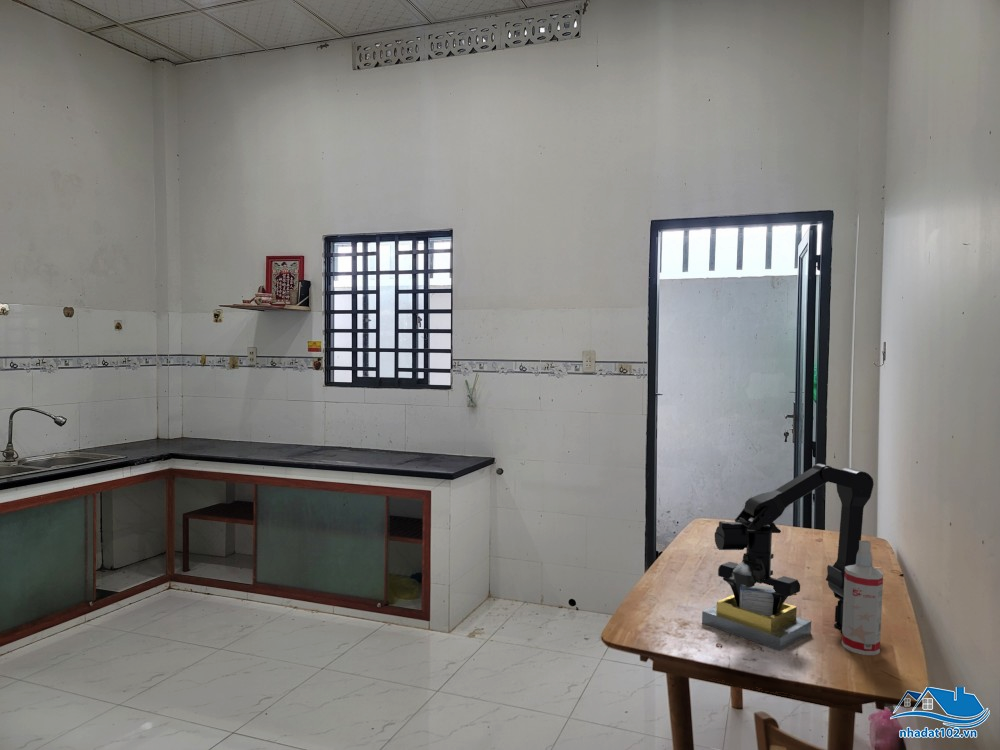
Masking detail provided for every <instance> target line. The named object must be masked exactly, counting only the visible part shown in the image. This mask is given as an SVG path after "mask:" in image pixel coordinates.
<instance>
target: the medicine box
mask: <svg viewBox="0 0 1000 750" xmlns="http://www.w3.org/2000/svg"><path fill="white" fill-rule="evenodd" d="M773 592H775V590H774V589H773V586H768V585H765V586H764V585H758V584H755V585H754V586H753V587H746V586H745V585H742V584H740V605H739V607H740V608H743V609H746V610H750V611H753V612H756V613H759V614H762V615H765V616H768V617H770V616H772V615H773V613H772V612H773V601H774V598H773V595H772V593H773Z"/></svg>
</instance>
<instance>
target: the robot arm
mask: <svg viewBox="0 0 1000 750" xmlns="http://www.w3.org/2000/svg"><path fill="white" fill-rule="evenodd" d="M826 483H831V484H835V485H836V492H837V494H838V497H839V500H840V502H841V503H840V504H841V509H840V510H841V511H840V520H839V521H840V522H839V533H838V534H839V535H838V546H837V547H838V548H837V558H836V561H835V562H834V564H833V565H830V564H828V565H827V567H826V569H827V570H826V572H827V573H826V574H827V575H826V578H825V581H826V582H827V583H828V584H827V586H828V588H829V589H830V590H831V591H832V592H833V597H835V598H836V599H838V600H837V605H835V607H834V608H835V611H834V622H835V623H833V627H834V628H838V629H841V630H842V623H843V600H844V576H845V567H846V566H849V565H855V564H856V556H857V552H858V550H859V540H860V541H862V534H863V533H862V530H863V523H864V521H863V519H864V508H865V506H866V504H867V503H868V501H870V499H871V496H872V493H873V489H874V485H875V484H874V478H873V477H872V476H871V475H870V474H869V473H868V472H866V471H862V470H858V469H855V468H851V467H844V468H842V469H839V468H835V467H832V466H830V465H827V464H823V463H816V464H814V465H813V466H812V467H811V468H809V469H808V470H806V471H804V472H803V473H801V474H800V475H798V476H796V477H795V478H793V479H791V480H790V481H788V482H785V484H783V485H781V486H779V487H778V488H776V489H774V490H772V491H768V492H763V493H759V494H757V495H754V496H751V497H750V498H748V499H747V500H745V503H744V504H745V505H744V508H743V509H742V510H741V512H740V513H739V514H738V515H737V516H736V518H735V519H734V521H728V522H727V521H719V522H718V526H717V527H716V529H715V532H714V542H715V546H716V548H717V549H718V550H719V551H743V550H745V549H746V550H745V551H746V552H744V553H743V556H742V561H741V562H739V563H735V562H732V561H728V562H725V563H722V564H720V565H719V566H718V568H717V576H718V577H721V578H722V580H723V581H724V582H726V583H727V584H728V585H729V587H730V588H731V590H732V595H734V597H735V600H736V603H737V606H738V607H739V605H740V584H742V585H745V586H746V587H753V586H754V585H756V584H757V583H758V584H760V585H762V584H764V585H766V586H770V587H773V589H774V591H775V592H773V593H772V595H773V598H774V601H773V612H772V613H773V615H774V614H776V613H778V612H779V611H780V609H781V607H782V605H783V603H785V601H786V600H787V599H788V597H791V596H793V595H796V594H798V593H800V592H801V583H800V581H799V580H798V579H796V578H793V577H788V576H786V575H783V576H781V577H778V578H777V577H776V578H775V577H771V576H773V575H774V571H773V570H772V567H771V566H772V565H771V564H772V559H774V553H772V542H773V541H772V540H773V539H772V538H773V537H772V535H773V534H780V533H782V532H781V529H780V528H779V527H777V526H776V525H777V524H775V521H777V520H778V518H780V517H781V516H782V515H783V513H784V511H785V510H786V508H788V507H789V506H790V505H791V504H793V503H795V502H797V501H798V500H800V499H801V498H804V496H806V495H809V494H810V493H811V492H813V491H815V490H816V489H818V488H819V487H821V486H823V485H824V484H826ZM751 520H752V521H751Z"/></svg>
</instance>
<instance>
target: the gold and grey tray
mask: <svg viewBox="0 0 1000 750" xmlns="http://www.w3.org/2000/svg"><path fill="white" fill-rule="evenodd" d="M797 607H798V606H795V605H792V604H789V603H787V602H786V603H785V602H784V603H783V605H782V607H781V609H780V611H779V612H778V613H776V614H774V615H772V616H770V617H768V616H765V615H762V614H759V613H756V612H753V611H750V610H746V609H743V608H740V607H738V606H737V603H736V600H735V597H734V594H731V595H729V596H727V597H725V598H722V599H719V600H718V601H716V605H714V606H711V607H709V608H707V609H704V610H702V611H701V613H702V615H701V624H703V625H707V626H709V627H711V628H715V629H717V630H720V631H724V632H726V633H729V634H731V635H734V636H737V637H740V638H742V639H746V640H748V641H751V642H754V643H757V644H759V645H762V646H765V647H768V648H770V649H774V650H776V651H779V652H781V651H782V650H784V649H786V648H787V647H789V646H791V645H792V644H795V643H796V642H798V641H800V640H801V639H803V638H805V637H807V636H808V635H811V633H812V621H811V620H809V619H806V618H802V617H799V616H797V609H798V608H797Z"/></svg>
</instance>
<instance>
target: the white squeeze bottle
mask: <svg viewBox="0 0 1000 750" xmlns="http://www.w3.org/2000/svg"><path fill="white" fill-rule="evenodd" d="M871 545H872V543H871V541H869V540H861V541H860V540H859V550H858V552H857V556H856V564H855V565H849V566H846V567H845V576H844V600H843V623H842V629H841V630H842V631H841V632H842V633H841V645H842V647H843V648H844V649H845V650H848V651H850V652H852V653H855V654H860V655H863V656H877V655H878V654H880V653H881V635H882V633H881V632H882V613H883V609H882V608H883V592H884V591H883V589H884V587H883V586H884V572H882V571H881V570H880V569H878V568H875V567H874V566H873V554H872V552H871Z"/></svg>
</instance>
